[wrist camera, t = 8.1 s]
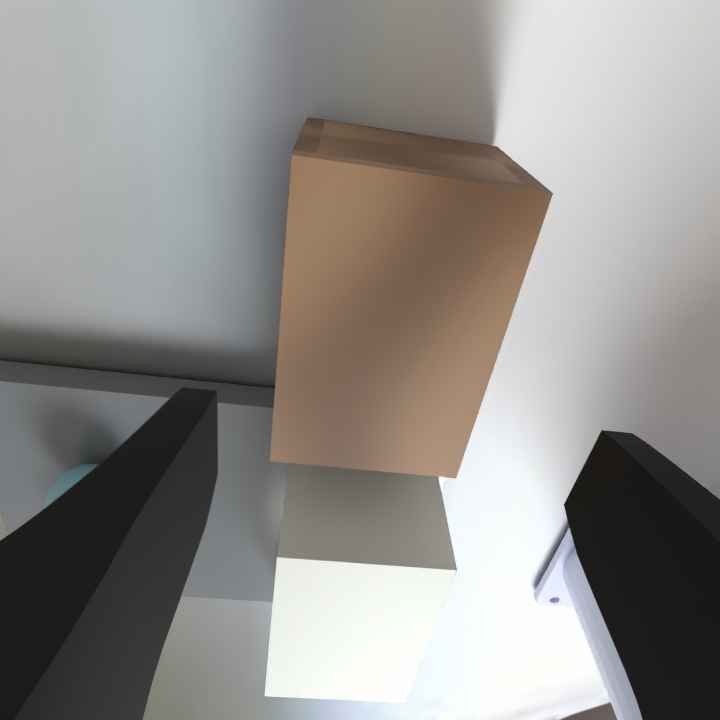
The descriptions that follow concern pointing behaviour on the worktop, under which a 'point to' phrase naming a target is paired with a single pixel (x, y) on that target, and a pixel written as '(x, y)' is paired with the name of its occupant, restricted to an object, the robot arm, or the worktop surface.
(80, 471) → the marble
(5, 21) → the worktop surface
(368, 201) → the walnut box
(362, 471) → the white box
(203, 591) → the board
